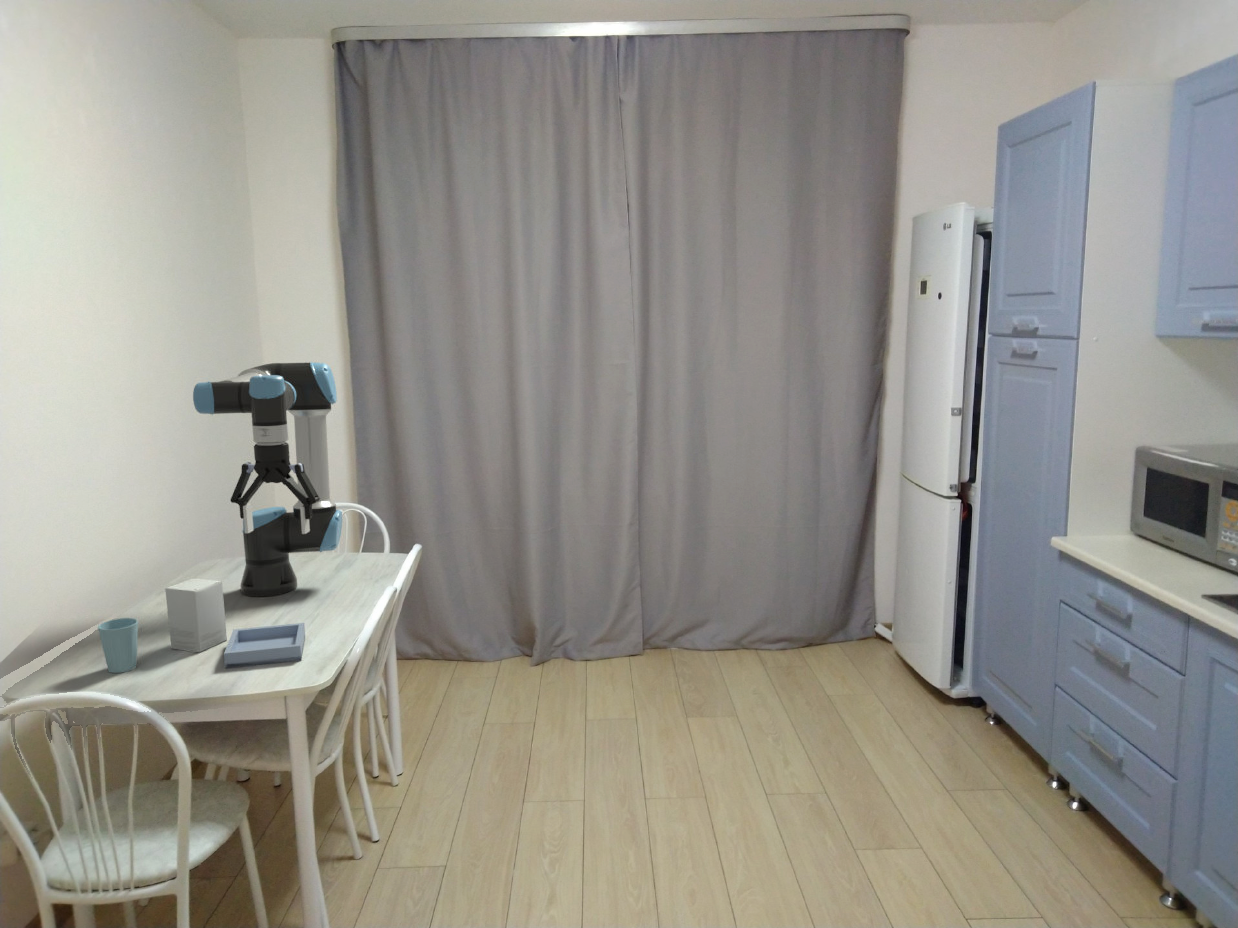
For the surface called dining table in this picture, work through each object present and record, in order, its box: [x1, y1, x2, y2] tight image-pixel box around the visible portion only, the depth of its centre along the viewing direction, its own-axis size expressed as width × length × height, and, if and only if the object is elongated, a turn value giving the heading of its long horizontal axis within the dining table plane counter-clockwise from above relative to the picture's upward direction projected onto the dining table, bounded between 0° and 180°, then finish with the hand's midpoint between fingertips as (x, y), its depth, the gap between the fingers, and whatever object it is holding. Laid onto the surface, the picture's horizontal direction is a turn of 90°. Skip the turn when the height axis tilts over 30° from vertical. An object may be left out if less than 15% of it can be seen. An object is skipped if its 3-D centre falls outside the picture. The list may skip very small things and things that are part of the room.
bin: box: [223, 622, 306, 670], centre depth 204 cm, size 16×16×4 cm
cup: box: [97, 617, 139, 674], centre depth 194 cm, size 8×8×10 cm
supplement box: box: [165, 577, 228, 653], centre depth 208 cm, size 9×9×15 cm
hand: (277, 532), depth 205 cm, fingers open, 13 cm apart
